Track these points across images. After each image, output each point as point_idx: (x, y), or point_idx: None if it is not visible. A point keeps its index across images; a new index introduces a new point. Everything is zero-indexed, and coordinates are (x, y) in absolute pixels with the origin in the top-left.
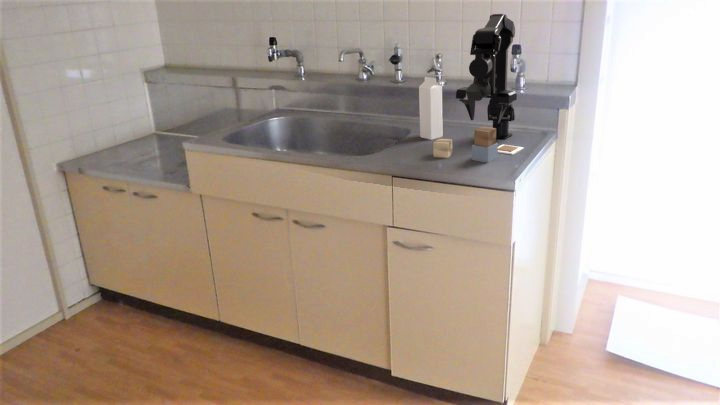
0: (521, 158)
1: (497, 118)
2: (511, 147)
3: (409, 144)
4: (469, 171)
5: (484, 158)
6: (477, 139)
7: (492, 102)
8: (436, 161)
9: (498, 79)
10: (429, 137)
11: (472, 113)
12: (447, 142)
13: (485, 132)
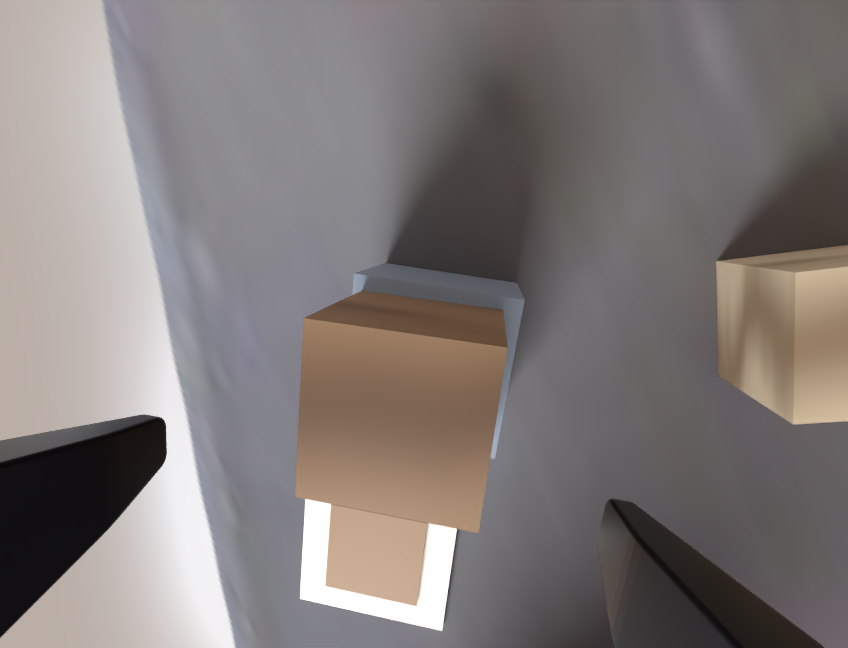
0: (239, 415)
1: (72, 437)
2: (357, 571)
3: None
4: (426, 11)
5: (409, 268)
6: (467, 317)
7: None
8: (782, 133)
9: None
10: None
11: (649, 622)
12: (811, 307)
13: (349, 322)
